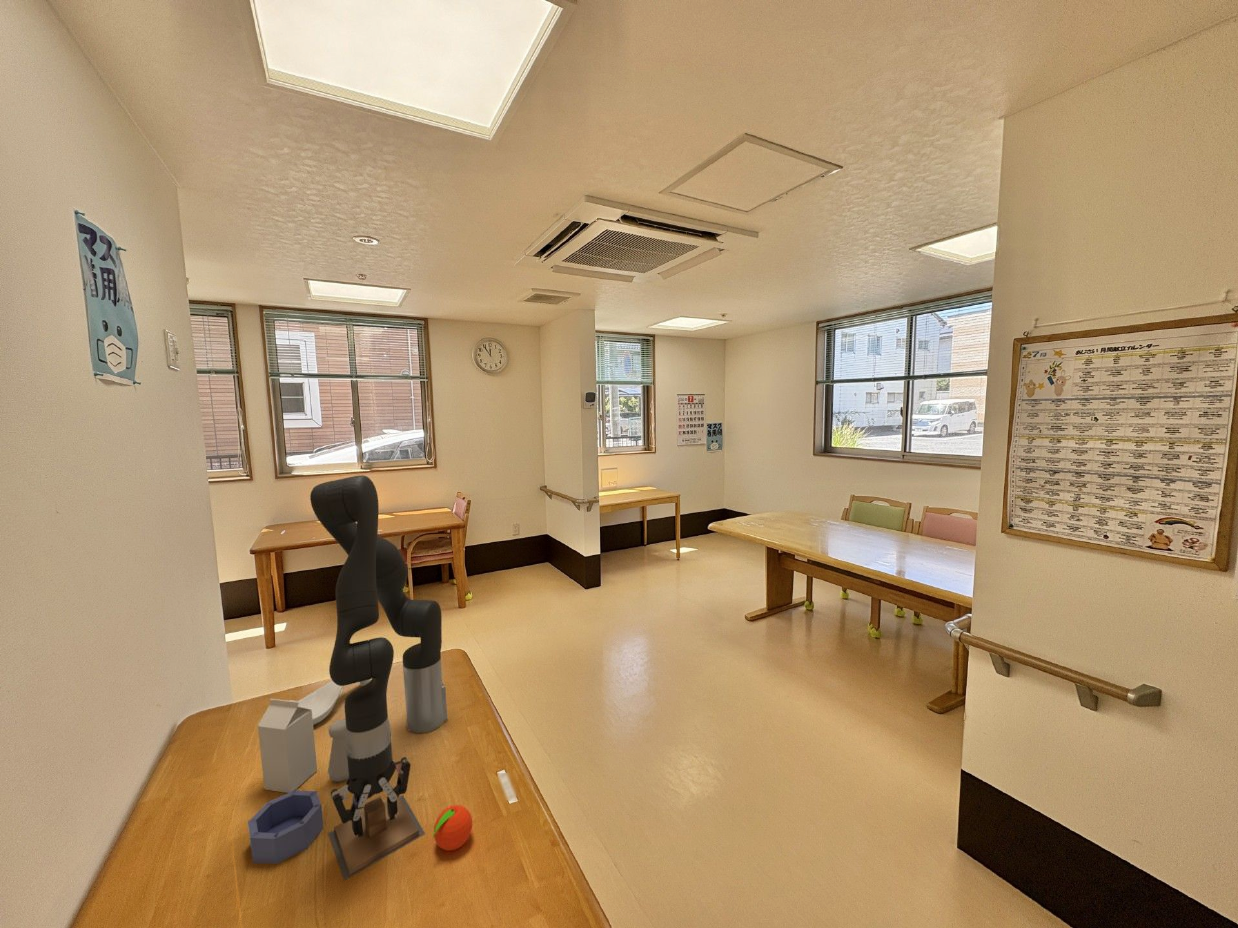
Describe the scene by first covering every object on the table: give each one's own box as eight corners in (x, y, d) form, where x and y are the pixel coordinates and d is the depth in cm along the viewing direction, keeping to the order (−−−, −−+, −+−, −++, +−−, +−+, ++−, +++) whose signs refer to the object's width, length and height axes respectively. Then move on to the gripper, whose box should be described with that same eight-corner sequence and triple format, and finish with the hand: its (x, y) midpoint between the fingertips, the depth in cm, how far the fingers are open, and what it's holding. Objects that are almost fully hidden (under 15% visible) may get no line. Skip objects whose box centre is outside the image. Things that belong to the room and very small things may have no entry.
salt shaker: (328, 790, 107) (322, 734, 106) (329, 773, 112) (324, 719, 111) (358, 780, 110) (353, 726, 108) (358, 764, 115) (354, 712, 113)
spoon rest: (304, 739, 125) (302, 712, 124) (274, 728, 129) (271, 703, 128) (381, 689, 146) (379, 667, 146) (352, 682, 151) (351, 660, 150)
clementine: (446, 871, 87) (444, 835, 87) (422, 853, 91) (419, 818, 90) (481, 838, 94) (479, 804, 93) (456, 822, 98) (454, 789, 97)
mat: (403, 797, 105) (403, 794, 104) (425, 836, 95) (425, 833, 95) (328, 835, 95) (328, 832, 95) (344, 883, 86) (344, 879, 86)
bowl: (315, 806, 103) (313, 781, 102) (327, 840, 94) (324, 814, 94) (249, 837, 95) (246, 811, 95) (255, 877, 87) (252, 849, 86)
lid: (398, 798, 103) (396, 772, 103) (419, 834, 94) (417, 806, 94) (334, 831, 96) (331, 803, 95) (349, 874, 87) (347, 843, 86)
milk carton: (291, 794, 106) (283, 711, 104) (264, 789, 108) (255, 708, 105) (317, 770, 113) (310, 692, 111) (291, 766, 114) (284, 689, 112)
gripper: (402, 718, 100) (407, 794, 102) (321, 750, 91) (329, 834, 93) (414, 735, 95) (420, 816, 97) (330, 772, 85) (338, 861, 87)
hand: (375, 824), depth 95 cm, fingers open, 5 cm apart
